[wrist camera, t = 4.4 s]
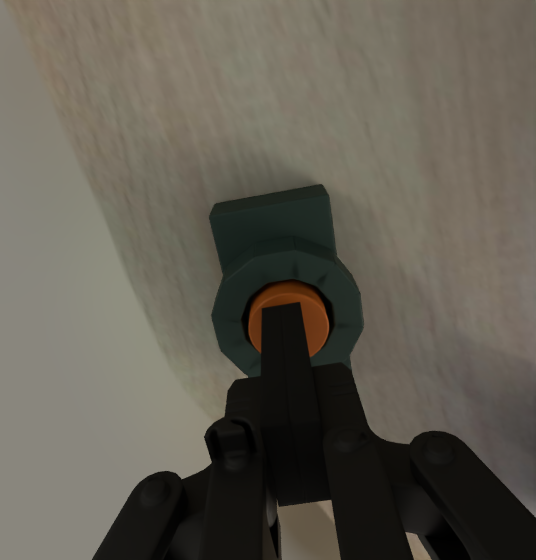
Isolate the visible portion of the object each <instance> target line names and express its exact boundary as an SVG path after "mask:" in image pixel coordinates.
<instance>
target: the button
mask: <svg viewBox="0 0 536 560" xmlns="http://www.w3.org/2000/svg"><path fill="white" fill-rule="evenodd" d="M295 302H300V303H301V309H302V315H303V321H304V327H305V332H306V338H307V344H308V350H309V356H310V357H311V356H313V355H314V354H316V353H317V352H318V351H319V350H320V349H321V347H322V346H323V345H324V343H325V341H326V339H327V336H328V332H329V321H328V317H327V313H326V310H325V306H324V302H323V299H322V297H321V295H320V293H319V291H318V290H317V289H316V288H315V287H314V286H313V285H311V284H308V283H305V282H302V281H299V280H296V279H289V280H283V281H277V282H271V283H267V284H266V285H264V286H263V287H262V288H260V289H259V290H258V291H257V292H256V293H255V294H254V296H253V298H252V301H251V304H250V314H249V336H250V339H251V341H252V344H253V345H254V347H255V348H256V349H257V350H258V351H259V352H260V353H261V321H262V308H266V307H272V306H277V305H283V304H289V303H295Z"/></svg>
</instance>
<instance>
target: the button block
mask: <svg viewBox="0 0 536 560" xmlns="http://www.w3.org/2000/svg"><path fill="white" fill-rule="evenodd" d="M209 220H210V224H211V228H212V232H213V236H214V240H215V244H216V248H217V253H218V257H219V261H220V265H221V269H222V273H223V277H222V280H221V283H220V286H219V289H218V292H217V295H216V298H215V302H214V306H213V310H212V314H211V316H212V322H213V325H214V329H215V333H216V337H217V340H218V344H219V348H220V349H221V352H222V353H223V354H224V355H226V356H227V357H228V358H229V359H230V360H231V361H232V362H233V363H234V364H235V365H236V366H237V367H238V368H239V369H240V370H241V371H242V372H243V373H244V374H246V375H248V378H250V377H256V376H261V353H260V352H259V351H258V350H257V349H256V348H255V347H254V345H253V344H252V341H251V339H250V336H249V314H250V304H251V301H252V298H253V296H254V294H255V293H256V292H257V291H258V290H259V289H260V288H262V287H263V286H264V285H266V284H267V283H271V282H277V281H283V280H289V279H296V280H299V281H302V282H305V283H308V284H311V285H313V286H314V287H315V288H316V289H317V290H318V291H319V293H320V295H321V297H322V299H323V302H324V306H325V310H326V313H327V317H328V321H329V332H328V336H327V339H326V341H325V343H324V345H323V346H322V347H321V349H320V350H319V351H318V352H317V353H316V354H314V355H313V356H311V357H310V361H311V367H313V366H319V365H326V364H332V363H338V362H342V363H343V364H345V365H346V366H347V367H348V368H349V369H350V370H351V372H352V369H351V361H350V354H351V352H352V350H353V348H354V346H355V344H356V342H357V340H358V338H359V336H360V334H361V332H362V330H363V328H364V327H363V326H364V321H363V312H362V303H361V294H360V291H359V289H358V287H357V285H356V282H355V280H354V278H353V276H352V274H351V273H350V272H349V270H348V269H347V268H346V267H345V266H344V264H343V263H342V262H341V261H340V260H339V258H338V257H337V253H336V245H335V237H334V229H333V222H332V214H331V206H330V198H329V195H328V193H327V191H326V190H325V188H324V186H323V185H322V184H319V185H314V186H308V187H303V188H298V189H292V190H287V191H281V192H276V193H270V194H265V195H260V196H254V197H249V198H243V199H238V200H232V201H227V202H222V203H216V204H215V205H214V207H213V209H212V211H211V213H210V215H209Z"/></svg>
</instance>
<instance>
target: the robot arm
mask: <svg viewBox="0 0 536 560" xmlns="http://www.w3.org/2000/svg"><path fill="white" fill-rule="evenodd" d="M226 403H227V404H226V409H225V417H223V418H221V419H219V420H218V421H216V422H214V423H213V424H212V425H211V426H210V427H209V428H208V429H207V431H206V434H205V436H204V438H205V441H206V445H207V448H208V451H209V455H210V458H211V461H212V463H211V464H210V465H209V466H208V467H207V468H205V469H204V470H202V471H200V472H198V473H196V474H194V475H191V476H189V477H187V478H184V479H182V480H181V478H180V477H179V476H178V475H177V474H176V473H173V472H170V471H162V472H157V473H154V474H152V475H149V476H147V477H146V478H145V479H143V480H142V481H141V482H139V484H138V485H137V486H136V487H135V488H134V490H133V491H132V493H131V494H130V496H129V497H128V499H127V501H126V503H125V504H124V506H123V508H122V509H121V511H120V513H119V514H118V516H117V518H116V520H115V521H114V523H113V525H112V526H111V528H110V530H109V532H108V533H107V535H106V537H105V538H104V540H103V542H102V543H101V545H100V547H99V548H98V550H97V552H96V553H95V555H94V557H93V559H92V560H282V558H281V532H280V523H279V519H278V514H277V501H278V505H279V507H280V506H288V505H296V504H303V503H310V502H317V501H325V500H331V501H332V507H333V513H334V519H335V525H336V532H337V538H338V544H339V550H340V557H341V560H414V558H413V555H412V552H411V549H410V546H409V543H408V539H407V536H406V533H405V532H409V533H414V534H417V535H418V538H419V540H420V541H421V543H422V544H423V546H424V548H425V549H426V551H427V552H428V554H429V556H430V557H431V559H432V560H536V518H535V517H534V515H533V514H532V513H531V512H530V511H529V510H528V509H527V508H526V507H525V506H524V505H523V504H522V503H521V502H520V501H519V500H518V499H517V498H516V497H515V495H514V494H513V493H512V492H511V491H510V490H509V489H508V488H507V487H506V486H505V485H504V484H503V483H502V482H501V481H500V480H499V479H498V478H497V477H496V475H495V474H494V473H493V472H492V471H491V470H490V469H489V468H488V467H487V466H486V465H485V464H484V463H483V462H482V461H481V460H480V459H479V458H478V457H477V455H476V454H475V453H474V452H473V451H472V450H471V449H470V448H469V447H468V446H467V445H466V444H465V443H464V442H463V441H462V440H460V439H459V438H458V437H456V436H454V435H452V434H449V433H446V432H442V431H429V432H423V433H421V434H419V435H418V436H416V437H414V439H413V440H412V442H411V443H410V444H401V443H394V442H389V441H386V440H384V439H381V438H380V437H378V436H377V435H375V434H374V433H373V432H372V431H371V429H370V427H369V425H368V423H367V420H366V417H365V413H364V410H363V407H362V404H361V401H360V397H359V394H358V392H357V388H356V385H355V382H354V378H353V375H352V372H351V370H350V369H349V368H348V367H347V366H346V365H345V364H343V363H342V362H338V363H332V364H326V365H319V366H313V367H311V361H310V356H309V350H308V344H307V338H306V332H305V327H304V321H303V315H302V309H301V303H300V302H295V303H289V304H283V305H277V306H272V307H266V308H262V321H261V376H256V377H250V378H244V379H237V380H235V381H234V382H233V384H232V385H231V387H230V388H229V390H228V393H227V401H226Z"/></svg>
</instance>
